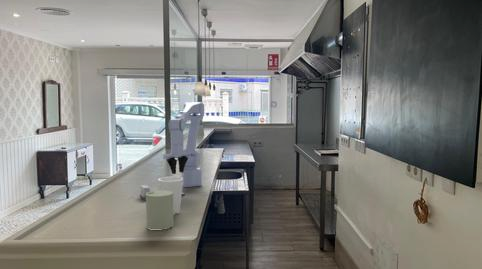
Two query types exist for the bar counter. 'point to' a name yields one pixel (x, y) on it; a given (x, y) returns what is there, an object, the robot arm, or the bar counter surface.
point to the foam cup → (172, 189)
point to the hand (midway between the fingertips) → (177, 173)
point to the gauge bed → (146, 189)
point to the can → (159, 209)
